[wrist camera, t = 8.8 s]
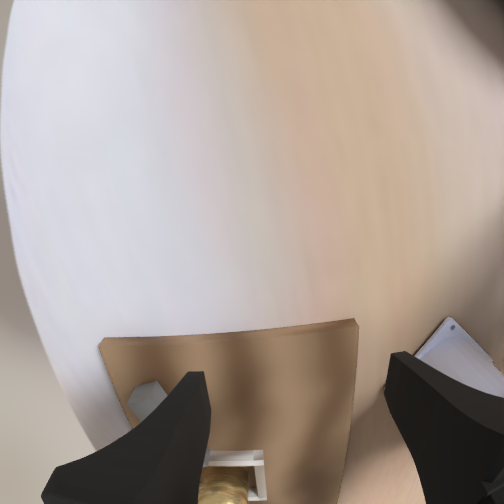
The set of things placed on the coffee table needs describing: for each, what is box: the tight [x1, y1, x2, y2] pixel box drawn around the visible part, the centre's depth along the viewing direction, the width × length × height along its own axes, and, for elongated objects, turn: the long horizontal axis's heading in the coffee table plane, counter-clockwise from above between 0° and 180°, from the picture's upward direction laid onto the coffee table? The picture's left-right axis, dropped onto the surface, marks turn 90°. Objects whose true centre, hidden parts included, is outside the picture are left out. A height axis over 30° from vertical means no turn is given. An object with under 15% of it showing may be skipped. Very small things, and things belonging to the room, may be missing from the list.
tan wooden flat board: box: [98, 318, 359, 504], centre depth 23 cm, size 18×28×4 cm, turn 6°
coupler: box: [198, 466, 249, 504], centre depth 20 cm, size 5×4×7 cm
